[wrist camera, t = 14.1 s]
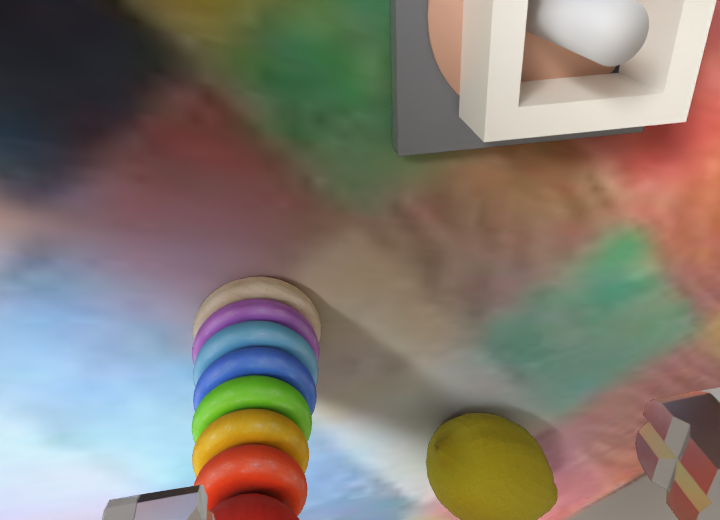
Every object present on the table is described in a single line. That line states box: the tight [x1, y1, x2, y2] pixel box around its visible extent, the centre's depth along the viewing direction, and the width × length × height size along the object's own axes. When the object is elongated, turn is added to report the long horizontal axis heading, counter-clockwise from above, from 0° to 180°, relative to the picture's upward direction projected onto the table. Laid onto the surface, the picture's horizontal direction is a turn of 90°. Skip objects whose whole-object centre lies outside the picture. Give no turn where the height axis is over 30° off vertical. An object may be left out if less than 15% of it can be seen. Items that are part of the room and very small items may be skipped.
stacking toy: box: [192, 277, 321, 520], centre depth 29 cm, size 8×8×19 cm
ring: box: [459, 0, 716, 142], centre depth 26 cm, size 10×10×4 cm
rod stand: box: [390, 0, 649, 156], centre depth 26 cm, size 14×14×9 cm
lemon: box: [426, 413, 557, 520], centre depth 42 cm, size 11×8×8 cm
